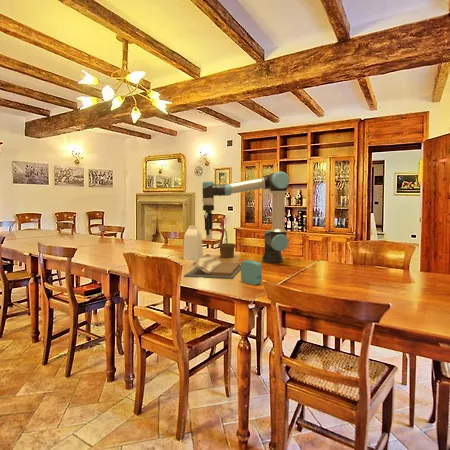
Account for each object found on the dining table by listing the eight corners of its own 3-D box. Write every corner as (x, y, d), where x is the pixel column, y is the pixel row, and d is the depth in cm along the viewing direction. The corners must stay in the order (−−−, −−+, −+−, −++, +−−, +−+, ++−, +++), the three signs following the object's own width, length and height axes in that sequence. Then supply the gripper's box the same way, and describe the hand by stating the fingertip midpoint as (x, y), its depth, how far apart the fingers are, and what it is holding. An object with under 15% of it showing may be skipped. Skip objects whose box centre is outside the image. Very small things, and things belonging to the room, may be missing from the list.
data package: (262, 284, 184) (261, 262, 183) (256, 285, 181) (256, 263, 180) (246, 280, 193) (246, 259, 192) (240, 281, 190) (240, 260, 189)
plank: (221, 264, 231) (222, 262, 230) (209, 274, 202) (210, 271, 201) (206, 256, 233) (207, 253, 232) (192, 264, 204) (193, 262, 203)
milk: (183, 259, 259) (182, 226, 256) (189, 257, 270) (188, 225, 267) (197, 260, 255) (197, 226, 253) (203, 257, 266) (202, 225, 264)
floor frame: (243, 266, 230) (243, 262, 230) (232, 279, 196) (232, 273, 196) (201, 265, 237) (201, 261, 237) (184, 276, 203) (184, 271, 203)
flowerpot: (216, 256, 271) (215, 219, 269) (232, 255, 276) (232, 218, 273) (221, 259, 258) (220, 220, 255) (238, 258, 262) (238, 220, 260)
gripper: (206, 204, 233) (206, 237, 235) (199, 205, 217) (200, 240, 219) (216, 204, 231) (217, 238, 233) (210, 204, 215) (211, 241, 217)
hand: (208, 239), depth 226 cm, fingers open, 3 cm apart
